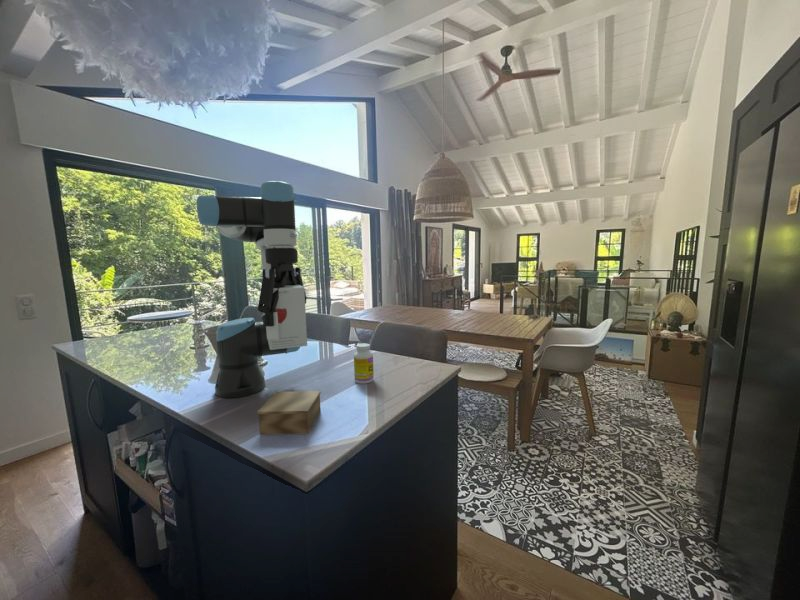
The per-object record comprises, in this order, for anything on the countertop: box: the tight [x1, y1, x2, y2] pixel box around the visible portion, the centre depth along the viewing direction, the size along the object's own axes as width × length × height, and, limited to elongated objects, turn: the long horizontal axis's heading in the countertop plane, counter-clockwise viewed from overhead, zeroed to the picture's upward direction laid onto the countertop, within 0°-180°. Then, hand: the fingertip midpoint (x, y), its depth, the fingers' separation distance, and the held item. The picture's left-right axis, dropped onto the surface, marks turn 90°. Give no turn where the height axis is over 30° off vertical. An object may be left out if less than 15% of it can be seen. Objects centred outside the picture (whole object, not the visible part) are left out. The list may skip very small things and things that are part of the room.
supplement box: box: [268, 285, 308, 350], centre depth 86 cm, size 9×9×15 cm
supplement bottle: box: [353, 342, 374, 385], centre depth 118 cm, size 7×7×13 cm
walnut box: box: [256, 390, 322, 435], centre depth 89 cm, size 12×12×6 cm
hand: (286, 333), depth 86 cm, fingers closed on supplement box, 12 cm apart
